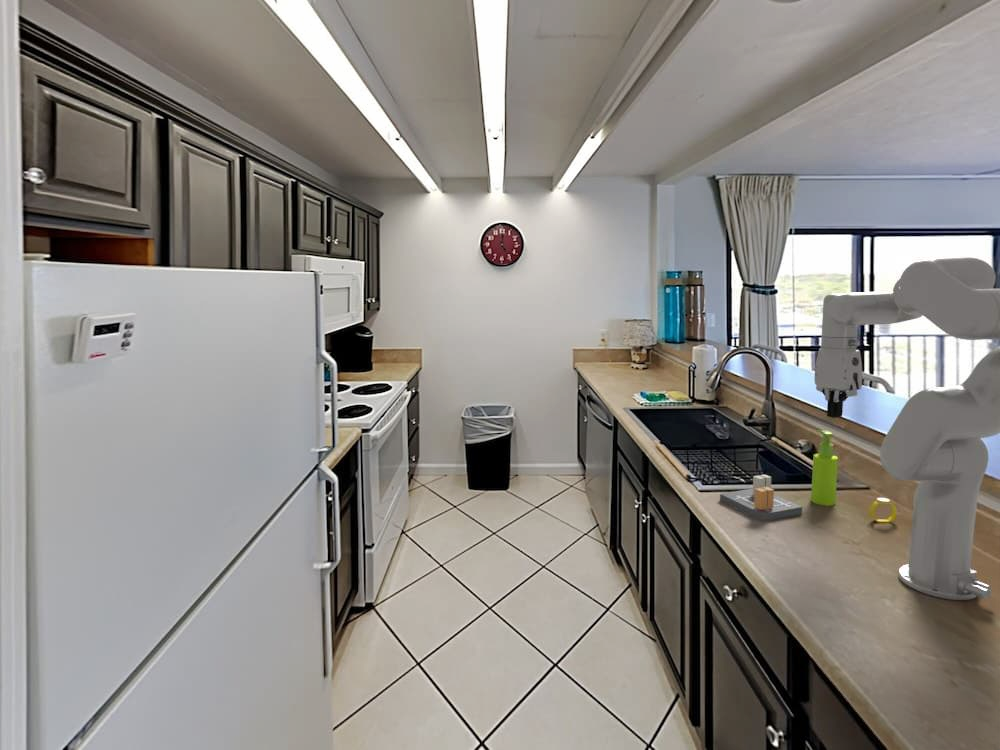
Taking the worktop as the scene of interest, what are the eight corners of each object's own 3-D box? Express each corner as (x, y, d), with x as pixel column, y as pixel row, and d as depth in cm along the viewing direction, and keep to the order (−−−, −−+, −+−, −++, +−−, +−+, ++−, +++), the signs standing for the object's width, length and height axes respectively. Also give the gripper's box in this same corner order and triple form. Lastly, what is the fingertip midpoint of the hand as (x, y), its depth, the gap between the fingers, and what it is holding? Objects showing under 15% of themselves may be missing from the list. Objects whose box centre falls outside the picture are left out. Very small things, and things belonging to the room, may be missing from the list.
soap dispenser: (827, 496, 159) (831, 428, 156) (839, 505, 152) (843, 434, 149) (805, 496, 160) (809, 428, 157) (816, 505, 153) (820, 434, 150)
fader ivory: (770, 494, 156) (771, 476, 155) (759, 496, 155) (759, 478, 154) (764, 491, 158) (764, 474, 158) (752, 493, 157) (753, 475, 156)
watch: (873, 524, 140) (873, 502, 139) (867, 520, 143) (867, 498, 142) (898, 523, 140) (898, 500, 139) (891, 518, 142) (891, 496, 142)
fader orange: (773, 507, 146) (774, 489, 145) (761, 510, 145) (761, 491, 144) (766, 504, 148) (766, 486, 148) (753, 506, 147) (754, 488, 147)
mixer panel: (802, 514, 147) (802, 506, 147) (762, 521, 143) (762, 513, 143) (756, 494, 162) (757, 487, 162) (720, 500, 158) (720, 493, 158)
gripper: (878, 345, 131) (873, 421, 134) (824, 341, 145) (820, 409, 148) (854, 347, 129) (850, 424, 132) (801, 342, 143) (798, 412, 146)
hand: (834, 416), depth 140 cm, fingers closed
